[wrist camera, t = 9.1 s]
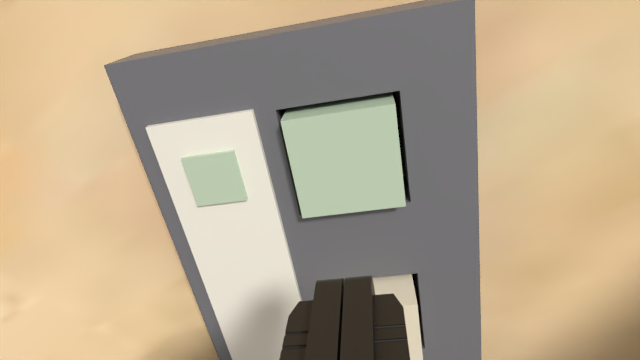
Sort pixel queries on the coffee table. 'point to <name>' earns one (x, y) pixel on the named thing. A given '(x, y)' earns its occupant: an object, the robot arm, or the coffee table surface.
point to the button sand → (407, 298)
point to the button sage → (345, 155)
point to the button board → (277, 180)
